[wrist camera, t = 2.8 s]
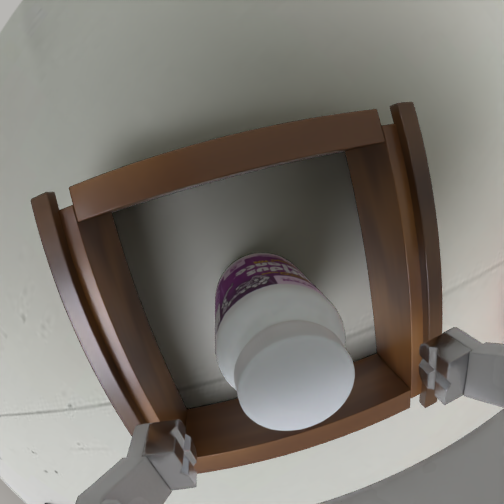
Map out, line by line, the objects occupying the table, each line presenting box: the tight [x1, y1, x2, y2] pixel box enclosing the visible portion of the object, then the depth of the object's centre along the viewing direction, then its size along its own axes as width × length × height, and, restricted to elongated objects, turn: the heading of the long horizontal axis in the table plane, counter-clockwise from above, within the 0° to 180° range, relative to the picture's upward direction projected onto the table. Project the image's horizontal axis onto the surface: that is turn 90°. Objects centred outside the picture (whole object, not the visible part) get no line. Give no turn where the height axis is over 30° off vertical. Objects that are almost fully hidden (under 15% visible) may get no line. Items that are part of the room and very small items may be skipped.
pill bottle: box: [215, 253, 355, 431], centre depth 14 cm, size 5×5×10 cm
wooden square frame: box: [31, 102, 442, 474], centre depth 16 cm, size 17×18×6 cm
